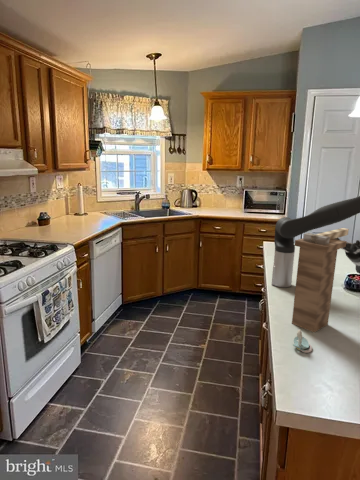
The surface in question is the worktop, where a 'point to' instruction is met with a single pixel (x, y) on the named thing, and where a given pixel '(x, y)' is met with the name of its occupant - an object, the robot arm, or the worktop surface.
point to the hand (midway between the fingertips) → (345, 240)
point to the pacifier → (301, 343)
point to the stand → (314, 283)
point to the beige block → (325, 236)
